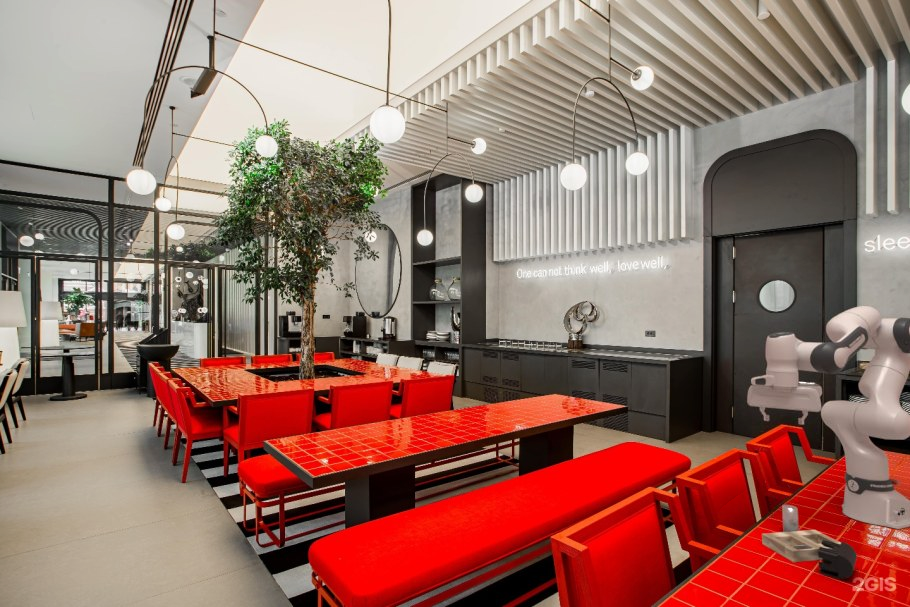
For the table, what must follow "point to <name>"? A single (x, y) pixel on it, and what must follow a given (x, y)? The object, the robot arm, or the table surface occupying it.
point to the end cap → (837, 559)
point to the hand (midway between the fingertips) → (783, 422)
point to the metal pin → (790, 518)
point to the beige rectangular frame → (797, 544)
